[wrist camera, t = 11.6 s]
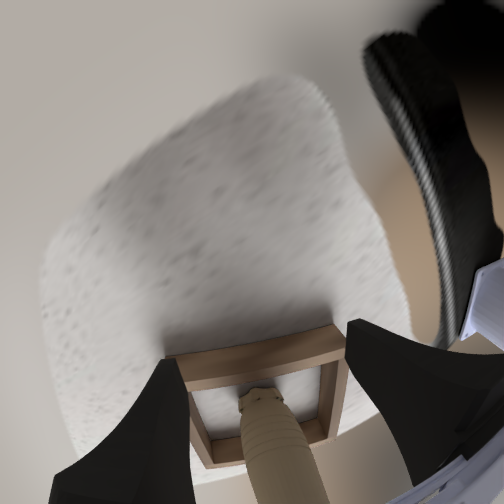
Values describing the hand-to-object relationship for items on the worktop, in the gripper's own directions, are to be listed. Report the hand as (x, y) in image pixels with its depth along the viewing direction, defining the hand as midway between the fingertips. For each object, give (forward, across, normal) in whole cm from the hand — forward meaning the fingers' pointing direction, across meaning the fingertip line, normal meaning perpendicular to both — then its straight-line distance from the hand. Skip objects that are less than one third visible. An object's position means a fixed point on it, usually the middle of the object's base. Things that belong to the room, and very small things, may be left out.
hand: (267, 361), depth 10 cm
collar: (+5, 0, +8) cm, 10 cm away
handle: (+5, 0, +8) cm, 10 cm away
